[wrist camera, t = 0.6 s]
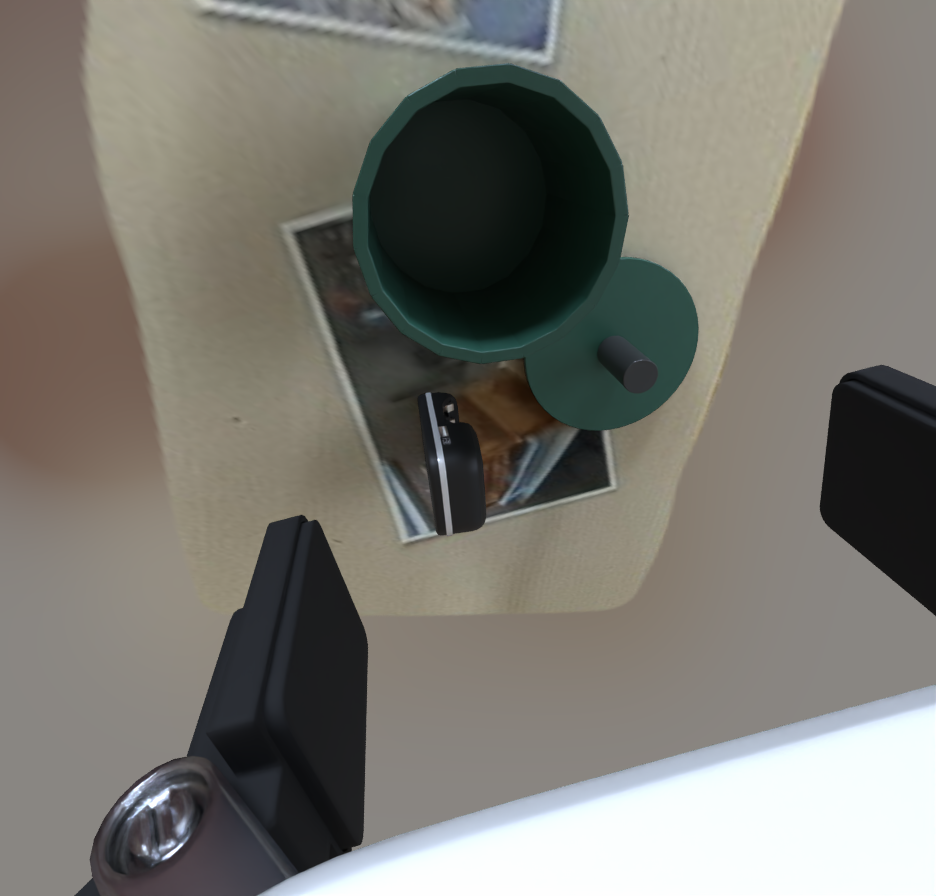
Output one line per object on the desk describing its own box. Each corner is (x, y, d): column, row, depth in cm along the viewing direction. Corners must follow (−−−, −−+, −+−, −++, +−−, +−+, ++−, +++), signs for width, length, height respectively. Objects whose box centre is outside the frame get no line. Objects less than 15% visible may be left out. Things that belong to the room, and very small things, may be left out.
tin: (340, 99, 35) (322, 81, 23) (552, 77, 36) (636, 50, 24) (377, 310, 42) (377, 379, 30) (556, 287, 43) (623, 344, 31)
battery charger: (469, 458, 49) (493, 540, 39) (425, 464, 49) (438, 548, 39) (463, 384, 46) (487, 453, 36) (416, 390, 45) (427, 462, 35)
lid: (517, 267, 42) (540, 289, 36) (700, 244, 43) (751, 261, 37) (525, 435, 49) (545, 476, 43) (682, 411, 50) (723, 448, 44)
